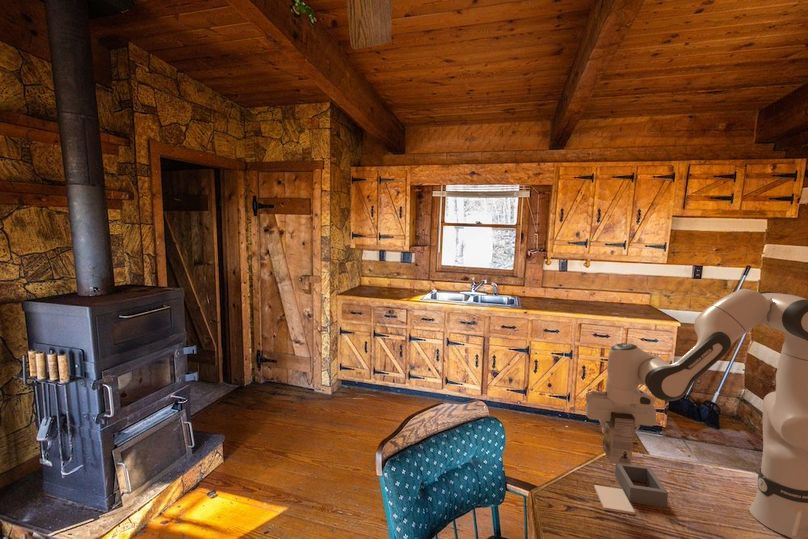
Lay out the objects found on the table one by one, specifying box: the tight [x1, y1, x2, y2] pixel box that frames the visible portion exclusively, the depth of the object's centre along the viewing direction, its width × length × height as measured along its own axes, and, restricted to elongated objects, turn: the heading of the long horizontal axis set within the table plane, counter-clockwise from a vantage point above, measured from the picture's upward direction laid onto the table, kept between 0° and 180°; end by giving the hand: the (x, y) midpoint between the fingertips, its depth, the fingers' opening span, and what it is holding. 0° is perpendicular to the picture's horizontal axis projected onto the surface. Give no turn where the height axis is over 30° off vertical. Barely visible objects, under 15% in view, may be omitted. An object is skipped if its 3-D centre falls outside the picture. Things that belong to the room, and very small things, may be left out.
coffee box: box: [602, 412, 635, 466], centre depth 121 cm, size 9×6×16 cm
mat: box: [593, 484, 636, 516], centre depth 123 cm, size 9×11×1 cm
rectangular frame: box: [614, 463, 669, 508], centre depth 128 cm, size 11×14×5 cm
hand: (618, 434), depth 121 cm, fingers closed on coffee box, 6 cm apart
